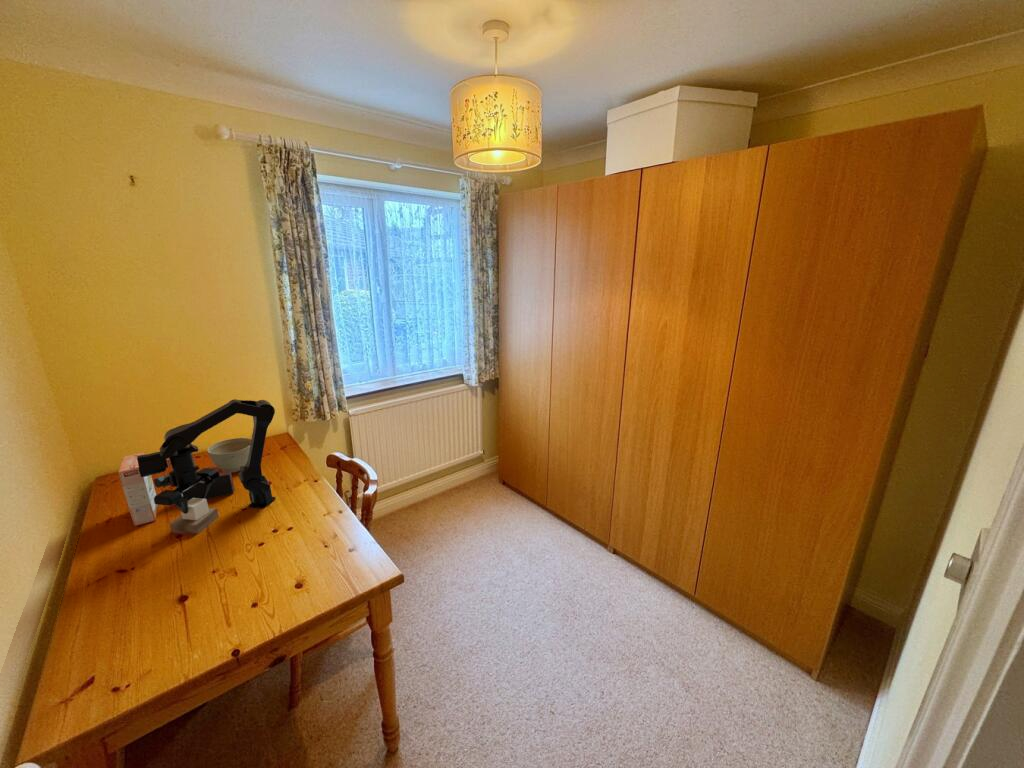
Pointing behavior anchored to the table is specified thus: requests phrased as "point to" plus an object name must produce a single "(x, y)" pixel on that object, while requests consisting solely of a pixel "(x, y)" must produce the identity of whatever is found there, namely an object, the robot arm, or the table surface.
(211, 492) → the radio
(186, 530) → the grey block
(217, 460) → the planter bowl
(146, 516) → the cereal box
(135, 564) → the table surface
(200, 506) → the cream cube
